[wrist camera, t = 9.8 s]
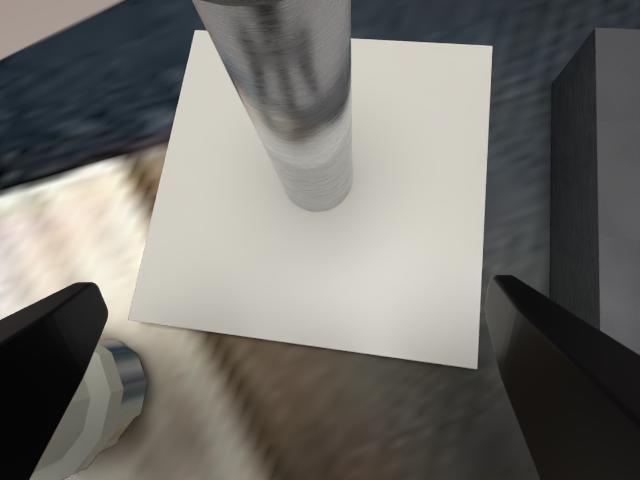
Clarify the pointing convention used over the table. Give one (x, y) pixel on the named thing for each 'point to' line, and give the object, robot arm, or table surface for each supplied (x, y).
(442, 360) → the pad
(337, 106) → the black knobbed metal rod
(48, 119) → the table surface
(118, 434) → the grey rounded bar
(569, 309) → the grey square frame block
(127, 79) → the table surface
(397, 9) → the table surface
